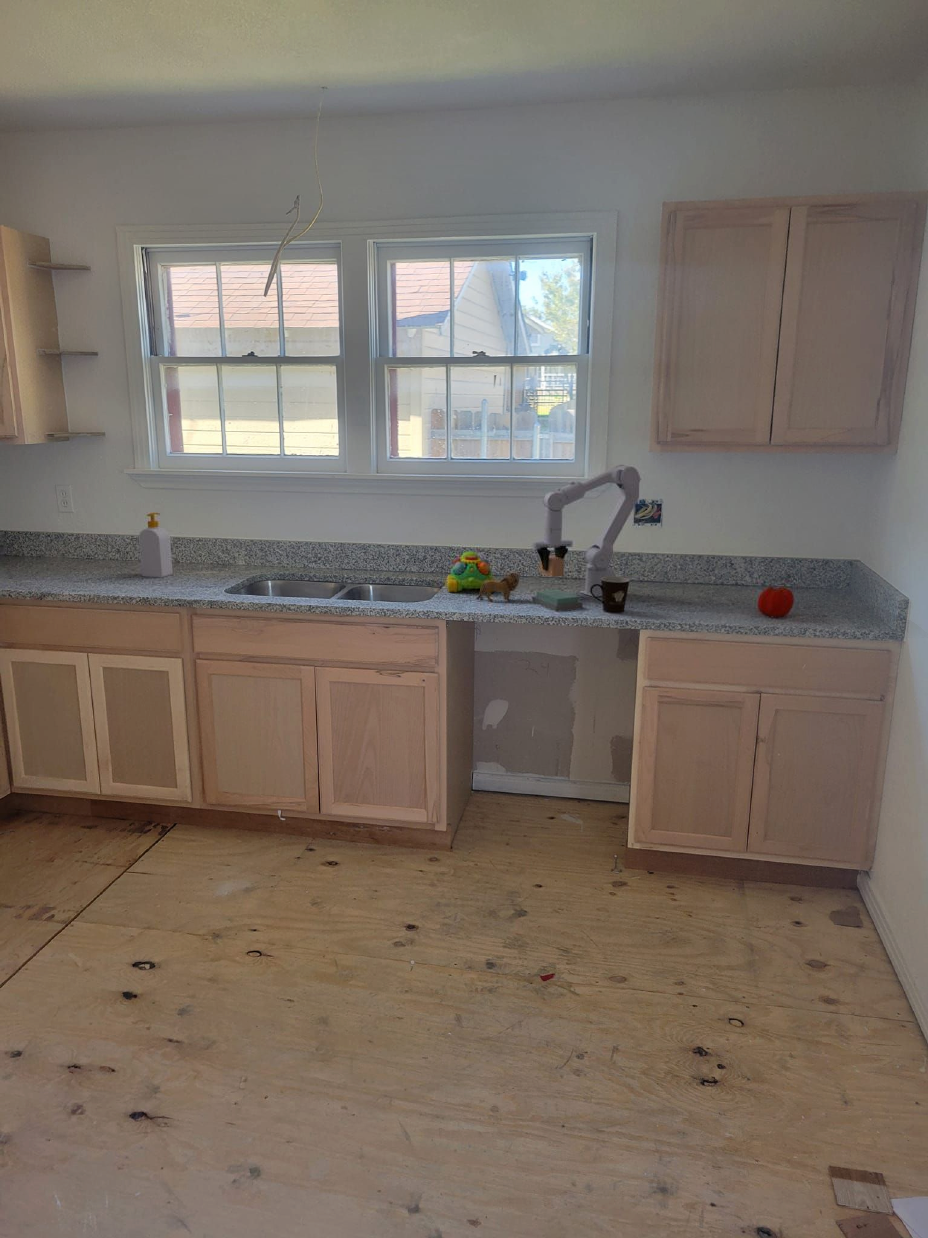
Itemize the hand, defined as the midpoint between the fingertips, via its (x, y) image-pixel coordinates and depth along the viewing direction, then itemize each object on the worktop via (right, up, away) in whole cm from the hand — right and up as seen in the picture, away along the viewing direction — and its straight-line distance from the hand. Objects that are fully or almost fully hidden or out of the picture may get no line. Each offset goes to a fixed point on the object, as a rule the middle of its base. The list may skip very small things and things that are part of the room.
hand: (551, 569), depth 277 cm
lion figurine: (-18, -11, -5) cm, 21 cm away
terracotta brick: (0, -2, +1) cm, 2 cm away
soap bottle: (-142, -1, +28) cm, 145 cm away
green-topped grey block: (0, -12, -12) cm, 17 cm away
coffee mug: (+16, -14, -18) cm, 28 cm away
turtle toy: (-27, -6, +13) cm, 31 cm away
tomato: (+66, -16, -22) cm, 71 cm away
